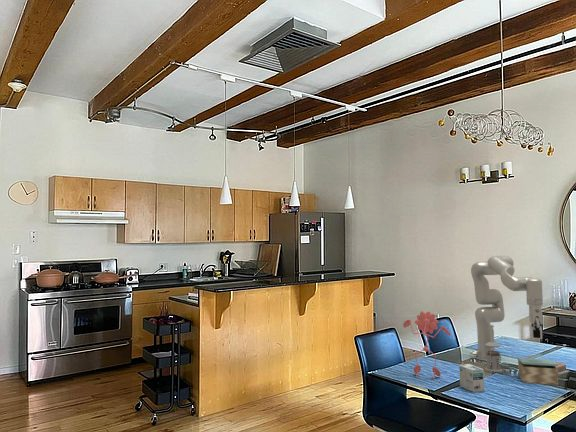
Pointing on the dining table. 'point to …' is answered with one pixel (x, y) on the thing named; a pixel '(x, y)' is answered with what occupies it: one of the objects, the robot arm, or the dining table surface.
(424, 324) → the figurine
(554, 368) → the storage box
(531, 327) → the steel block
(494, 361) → the french press
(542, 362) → the lid
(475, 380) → the light bulb box
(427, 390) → the dining table surface
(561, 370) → the packaged product
